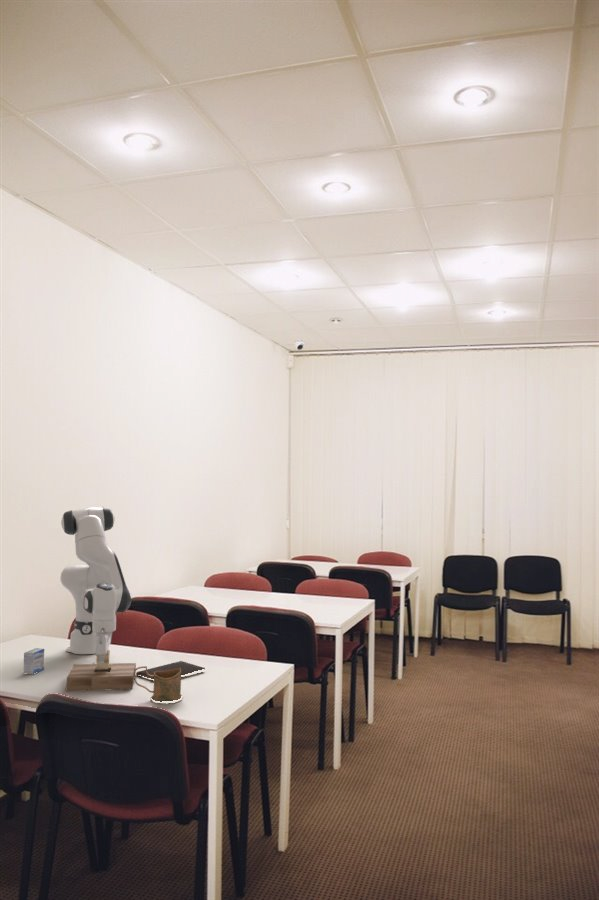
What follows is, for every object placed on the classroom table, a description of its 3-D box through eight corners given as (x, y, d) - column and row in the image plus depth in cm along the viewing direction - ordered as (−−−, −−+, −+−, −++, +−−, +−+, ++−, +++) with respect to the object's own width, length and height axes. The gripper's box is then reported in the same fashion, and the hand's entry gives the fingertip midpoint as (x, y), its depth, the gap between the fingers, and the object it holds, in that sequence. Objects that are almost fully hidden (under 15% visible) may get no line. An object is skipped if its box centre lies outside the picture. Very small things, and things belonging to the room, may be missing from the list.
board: (73, 677, 275) (74, 664, 276) (135, 675, 279) (135, 662, 280) (66, 691, 258) (66, 677, 258) (132, 689, 262) (132, 675, 262)
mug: (133, 695, 254) (134, 662, 255) (181, 693, 258) (182, 660, 259) (133, 706, 243) (134, 671, 243) (183, 703, 247) (184, 669, 247)
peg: (96, 681, 270) (97, 650, 271) (108, 681, 271) (109, 650, 272) (95, 684, 266) (96, 653, 267) (107, 684, 267) (108, 652, 267)
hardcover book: (205, 673, 286) (205, 668, 286) (161, 685, 269) (161, 679, 269) (180, 666, 297) (180, 660, 297) (135, 677, 279) (136, 671, 279)
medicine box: (32, 675, 277) (33, 653, 277) (22, 674, 278) (23, 652, 278) (44, 669, 285) (44, 648, 285) (34, 668, 286) (35, 647, 286)
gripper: (109, 632, 260) (108, 669, 259) (114, 620, 280) (113, 655, 279) (92, 632, 259) (91, 669, 258) (98, 620, 279) (97, 655, 278)
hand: (102, 661), depth 269 cm, fingers open, 8 cm apart
